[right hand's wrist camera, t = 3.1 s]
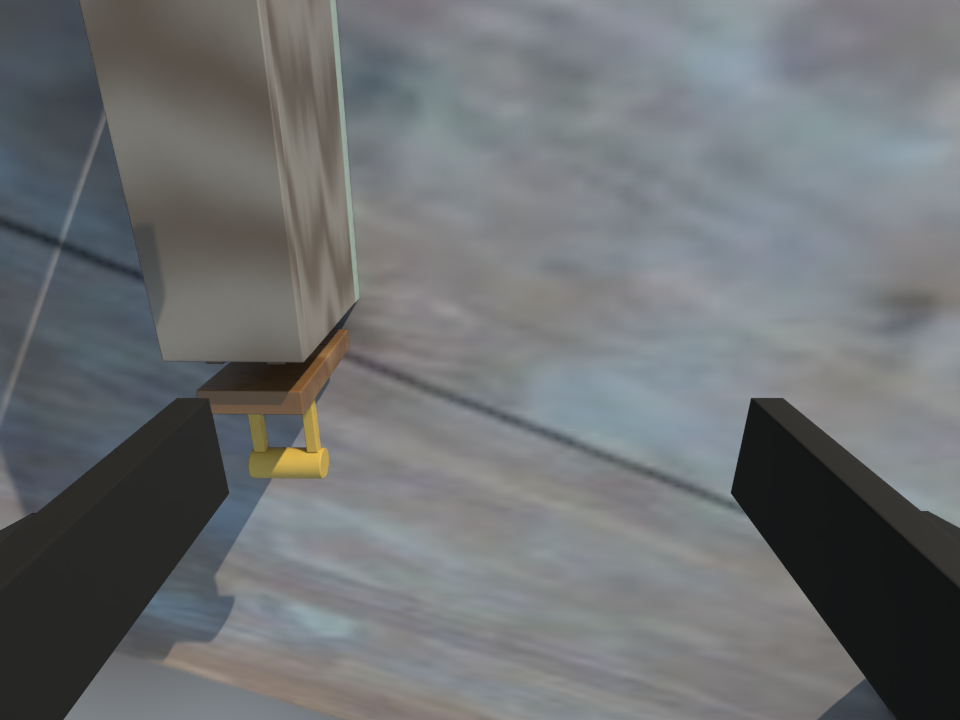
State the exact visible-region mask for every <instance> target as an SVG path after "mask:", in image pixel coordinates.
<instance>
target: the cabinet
mask: <svg viewBox="0 0 960 720" xmlns="http://www.w3.org/2000/svg"><path fill="white" fill-rule="evenodd" d="M79 3H80V7H81V12H82V16H83V20H84V25H85V29H86V33H87V37H88V42H89V46H90V50H91V55H92V59H93V63H94V68H95V72H96V76H97V80H98V85H99V89H100V93H101V98H102V102H103V106H104V110H105V115H106V119H107V123H108V128H109V132H110V136H111V140H112V145H113V149H114V153H115V158H116V162H117V166H118V171H119V175H120V179H121V183H122V188H123V192H124V196H125V201H126V205H127V209H128V213H129V218H130V222H131V226H132V231H133V235H134V239H135V243H136V248H137V252H138V256H139V261H140V265H141V269H142V274H143V278H144V282H145V286H146V291H147V295H148V299H149V304H150V308H151V312H152V316H153V321H154V325H155V329H156V334H157V338H158V342H159V346H160V351H161V355H162V359H163V361H197V362H304V361H305V360H306V359H307V358H308V357H309V356H310V355H311V354H312V352H313V351H314V350H315V349H316V348H317V346H318V345H319V344H320V343H321V342H322V341H323V339H324V338H325V337H326V336H327V335H328V334H329V332H330V331H331V330H332V329H333V328H334V326H335V325H336V324H337V323H338V322H339V321H340V319H341V318H342V317H343V316H344V315H345V313H346V312H347V311H348V310H349V309H350V308H351V306H352V305H353V304H354V303H356V301H357V300H358V299H359V287H358V274H357V262H356V249H355V236H354V224H353V211H352V199H351V186H350V174H349V161H348V149H347V136H346V124H345V111H344V99H343V86H342V73H341V61H340V48H339V36H338V23H337V11H336V0H79Z"/></svg>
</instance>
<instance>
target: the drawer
mask: <svg viewBox="0 0 960 720" xmlns="http://www.w3.org/2000/svg"><path fill="white" fill-rule="evenodd" d="M349 347H350V346H349V335H348V330H346V329H332V330H331V331H330V332H329V334H328V335H327V336H326V337H325V338H324V339H323V341H322V342H321V343H320V344H319V345H318V346H317V348H316V349H315V350H314V351H313V352H312V354H311V355H310V356H309V357H308V358H307V359H306V360H305V361H304V362H230V363H229V364H228V365H226V366H225V367H224V368H223V369H222V370H220V371H219V372H218V373H217V374H216V375H214V376H213V377H212V378H211V379H210V380H208V381H207V382H206V383H205V384H204V385H202V386H201V387H200V388H199V389H198V390H197V391H196V393H197V398H209V401H210V406H211V411H212V414H248V419H249V425H250V430H251V436H252V442H253V447H254V449H253V450H252V452H251V454H250V457H249V464H248V468H249V473H250V476H251V477H253V478H311V479H323V478H325V476H326V474H327V471H328V466H329V455H328V451H327V449H326V448H320V447H321V446H320V438H319V429H318V421H317V413H316V405H315V398H316V396H317V395H318V393H319V392H320V390H321V389H322V387H323V386H324V384H325V383H326V381H327V380H328V378H329V377H330V375H331V374H332V373H333V371H334V370H335V368H336V367H337V365H338V364H339V362H340V361H341V359H342V358H343V356H344V355H345V353H346V352H347V350H348V349H349ZM206 363H207V364H223V363H224V362H206ZM264 414H271V415H302V418H303V426H304V433H305V441H306V448H297V447H269V445H268V439H267V433H266V427H265V420H264Z"/></svg>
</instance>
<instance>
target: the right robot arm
mask: <svg viewBox="0 0 960 720" xmlns="http://www.w3.org/2000/svg"><path fill="white" fill-rule="evenodd" d="M228 494H229V490H228V485H227V481H226V476H225V471H224V467H223V462H222V457H221V453H220V448H219V443H218V439H217V434H216V429H215V425H214V420H213V415H212V411H211V406H210V401H209V398H177V399H176V400H174V401H173V402H172V403H171V404H169V405H168V406H167V407H166V408H165V409H163V410H162V411H161V412H160V413H158V414H157V415H156V416H155V417H154V418H152V419H151V420H150V421H149V422H147V423H146V424H145V425H144V426H143V427H141V428H140V429H139V430H138V431H136V432H135V433H134V434H133V435H132V436H130V437H129V438H128V439H127V440H125V441H124V442H123V443H122V444H121V445H119V446H118V447H117V448H116V449H114V450H113V451H112V452H111V453H110V454H108V455H107V456H106V457H105V458H103V459H102V460H101V461H100V462H99V463H97V464H96V465H95V466H94V467H92V468H91V469H90V470H89V471H88V472H86V473H85V474H84V475H83V476H81V477H80V478H79V479H78V480H77V481H75V482H74V483H73V484H72V485H70V486H69V487H68V488H67V489H66V490H64V491H63V492H62V493H61V494H59V495H58V496H57V497H56V498H55V499H53V500H52V501H51V502H50V503H48V504H47V505H46V506H45V507H44V508H42V509H41V510H40V511H39V512H37V513H32V514H30V515H28V516H26V517H24V518H23V519H21V520H19V521H17V522H15V523H13V524H11V525H10V526H8V527H6V528H4V529H2V530H0V720H63V719H64V718H65V717H66V715H67V714H68V713H69V711H70V710H71V709H72V707H73V706H74V704H75V703H76V702H77V700H78V699H79V698H80V696H81V695H82V694H83V692H84V691H85V689H86V688H87V687H88V685H89V684H90V682H91V681H92V680H93V678H94V677H95V676H96V674H97V673H98V672H99V670H100V669H101V668H102V666H103V665H104V663H105V662H106V661H107V659H108V658H109V657H110V655H111V654H112V653H113V651H114V650H115V648H116V647H117V646H118V644H119V643H120V642H121V640H122V639H123V637H124V636H125V635H126V633H127V632H128V631H129V629H130V628H131V627H132V625H133V624H134V622H135V621H136V620H137V618H138V617H139V616H140V614H141V613H142V612H143V610H144V609H145V607H146V606H147V605H148V603H149V602H150V601H151V599H152V598H153V596H154V595H155V594H156V592H157V591H158V590H159V588H160V587H161V586H162V584H163V583H164V581H165V580H166V579H167V577H168V576H169V575H170V573H171V572H172V571H173V569H174V568H175V566H176V565H177V564H178V562H179V561H180V560H181V558H182V557H183V555H184V554H185V553H186V551H187V550H188V549H189V547H190V546H191V545H192V543H193V542H194V540H195V539H196V538H197V536H198V535H199V534H200V532H201V531H202V530H203V528H204V527H205V525H206V524H207V523H208V521H209V520H210V519H211V517H212V516H213V515H214V513H215V512H216V510H217V509H218V508H219V506H220V505H221V504H222V502H223V501H224V499H225V498H226V497H227V495H228ZM731 494H732V495H733V497H734V498H735V499H736V501H737V502H738V504H739V505H740V506H741V508H742V509H743V510H744V512H745V513H746V515H747V516H748V517H749V519H750V520H751V521H752V523H753V524H754V525H755V527H756V528H757V530H758V531H759V532H760V534H761V535H762V536H763V538H764V539H765V540H766V542H767V543H768V545H769V546H770V547H771V549H772V550H773V551H774V553H775V554H776V556H777V557H778V558H779V560H780V561H781V562H782V564H783V565H784V566H785V568H786V569H787V571H788V572H789V573H790V575H791V576H792V577H793V579H794V580H795V581H796V583H797V584H798V586H799V587H800V588H801V590H802V591H803V592H804V594H805V595H806V596H807V598H808V599H809V601H810V602H811V603H812V605H813V606H814V607H815V609H816V610H817V612H818V613H819V614H820V616H821V617H822V618H823V620H824V621H825V622H826V624H827V625H828V627H829V628H830V629H831V631H832V632H833V633H834V635H835V636H836V637H837V639H838V640H839V642H840V643H841V644H842V646H843V647H844V648H845V650H846V651H847V653H848V654H849V655H850V657H851V658H852V659H853V661H854V662H855V663H856V665H857V666H858V668H859V669H860V670H861V672H862V673H863V674H864V676H865V677H866V678H867V680H868V681H869V683H870V684H871V685H872V687H873V688H874V689H875V691H876V692H877V694H878V695H879V696H880V698H881V699H882V700H883V702H884V703H885V704H886V706H887V707H888V709H889V712H890V714H891V715H892V717H893V719H894V720H960V528H958V527H957V526H955V525H953V524H951V523H949V522H947V521H945V520H943V519H942V518H940V517H938V516H936V515H934V514H932V513H930V512H929V511H920V510H919V509H918V508H916V507H915V506H914V505H913V504H912V503H910V502H909V501H908V500H907V499H905V498H904V497H903V496H902V495H901V494H899V493H898V492H897V491H896V490H894V489H893V488H892V487H891V486H890V485H888V484H887V483H886V482H885V481H883V480H882V479H881V478H880V477H879V476H877V475H876V474H875V473H874V472H872V471H871V470H870V469H869V468H868V467H866V466H865V465H864V464H863V463H861V462H860V461H859V460H858V459H857V458H855V457H854V456H853V455H852V454H850V453H849V452H848V451H847V450H846V449H844V448H843V447H842V446H841V445H839V444H838V443H837V442H836V441H835V440H833V439H832V438H831V437H830V436H828V435H827V434H826V433H825V432H824V431H822V430H821V429H820V428H819V427H817V426H816V425H815V424H814V423H813V422H811V421H810V420H809V419H808V418H806V417H805V416H804V415H803V414H802V413H800V412H799V411H798V410H797V409H795V408H794V407H793V406H792V405H791V404H789V403H788V402H787V401H786V400H784V399H783V398H751V401H750V406H749V411H748V415H747V420H746V425H745V429H744V434H743V439H742V443H741V448H740V453H739V457H738V462H737V467H736V471H735V476H734V481H733V485H732V490H731Z"/></svg>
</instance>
